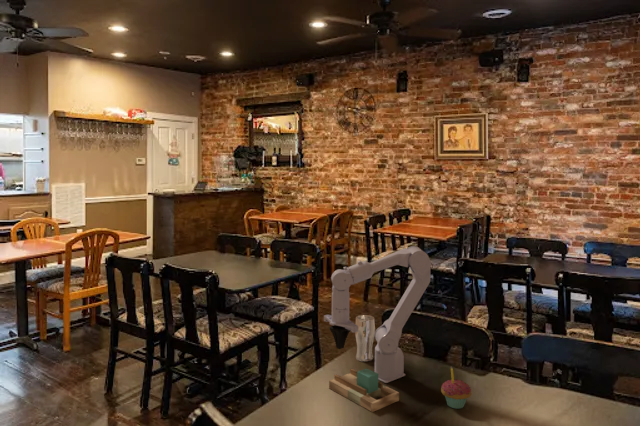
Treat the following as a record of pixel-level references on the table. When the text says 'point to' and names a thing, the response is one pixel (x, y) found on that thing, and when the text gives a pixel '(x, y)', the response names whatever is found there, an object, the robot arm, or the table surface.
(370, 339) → the beer glass
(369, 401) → the channel board
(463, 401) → the cupcake
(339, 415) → the table surface
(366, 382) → the teal block
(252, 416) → the table surface
